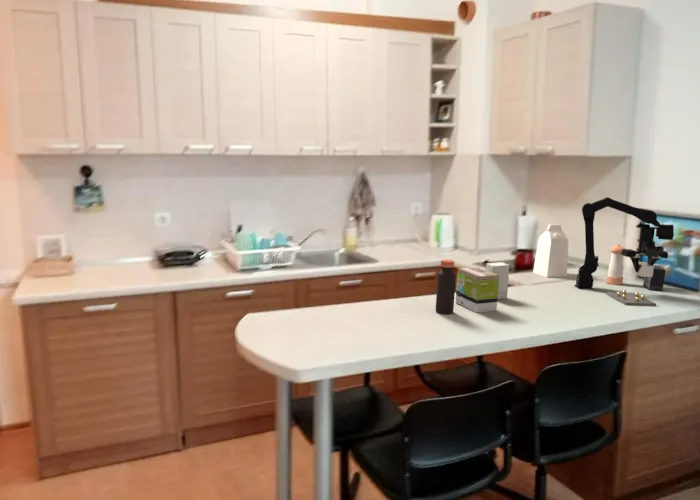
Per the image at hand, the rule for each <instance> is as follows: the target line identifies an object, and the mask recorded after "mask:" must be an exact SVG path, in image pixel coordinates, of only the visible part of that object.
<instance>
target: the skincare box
mask: <svg viewBox="0 0 700 500" xmlns="http://www.w3.org/2000/svg"><path fill="white" fill-rule="evenodd" d="M485 270H486V271H489V272H492V273H495V274H497V275H499V285H498V298H497V300H502V299H503V300H505V299H508V290H509V278H510V276H509V273H510V264H508V263H505V262H502V261H501V262H491V263H489V262H488V263H485Z"/></svg>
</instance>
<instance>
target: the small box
mask: <svg viewBox="0 0 700 500" xmlns="http://www.w3.org/2000/svg"><path fill="white" fill-rule="evenodd" d="M653 266H654V269H653V277H643V283H642V284H643V286H644V288H646V289H647V290H649V291H659V292H663V290H664V283H665V277H666V268H663V267H662V266H660V265H655V264H654V265H653Z"/></svg>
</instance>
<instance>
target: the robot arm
mask: <svg viewBox="0 0 700 500" xmlns="http://www.w3.org/2000/svg"><path fill="white" fill-rule="evenodd" d="M605 208H611V209H614V210H617V211H619V212H622V213H625V214H627V215H629V216H634V217H635V218H637V219H638V220H640V221H642V222H644V223H642V222H639V223H638V224H636V225H635V227H636V228H639V229H640V231H639V239H637V242H638V247H637V248H636V250H634V249H632V248H631V249H630V248H625V249H623V250H622V252H621V255H623V256H624V257H626V258H629V259H630V262H632V267H633V266H634V269H635V272H638V264H639V262H640V260H641V257H639V256H646V257H647V263H648V264H650V265H655V263H656V262H658V261H660V260H661V259H669V252H667V251H666V250H664V246H662V245H658V246H656V242H655V241H654V239H655V237H657V240H664V241H666V240H667V241H673V240H674V235H675V232H674V231H675V230H674V228H675V227H674V224H661V223H660V222H659V221H658V215H657V213H656V212H655V211H654V210H652V209H648V208H642V207H636V206H632V205H631V204H627V203H624V202H621V201H619V200H615V199H612V198H611V197H609V196H608V197H607V196H606V197H603V199H599V200H596V201H594V202H592V203H591V202H586V203H584V204H583V205H582V207H581V212H582V218H583V220H584V229H585V231H584V233H585V234H584V235H585V255H584V262H583V265H581V266H579V268H578V273H577V274H576V280H575V281H576V282H575V284H574V285H573V286H574V287H575V288H578V289H579V290H585V289H586V290H594V286H593V285H594V277H593V276H594V275H593V274H594V273H595V272H596V271H597V270H598V268H599V267H600V265H599V256H598V255H596V253H595V239H594V238H595V236H594V234H595V232H594V223H595V222H594V221H595V215H596V212H598V211H600V210H602V209H605ZM650 225H652V226H650Z"/></svg>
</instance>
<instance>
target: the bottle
mask: <svg viewBox="0 0 700 500" xmlns="http://www.w3.org/2000/svg"><path fill="white" fill-rule="evenodd" d="M454 267H455V261H454V260H451V259H441V260H440V268H441V270H440V271H439V272H438V273H437V283H436V296H435V297H436V298H435V312H436V313H437V314H441V315H450V314H451V315H452V314H453V313H454V309H455V308H454V307H455V306H454V305H455V296H456V282H457V274H456V272H454Z"/></svg>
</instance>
